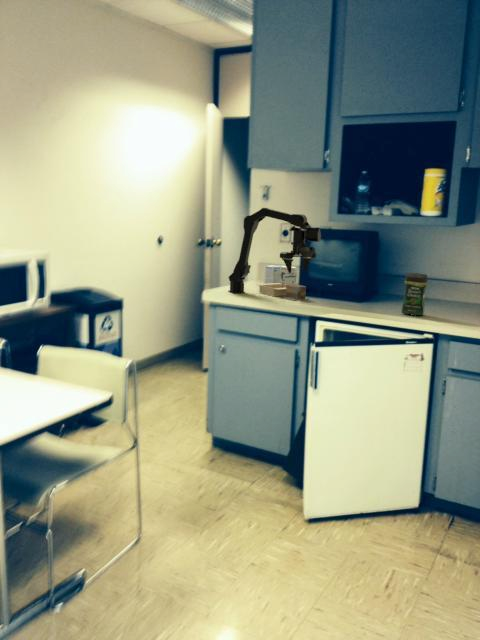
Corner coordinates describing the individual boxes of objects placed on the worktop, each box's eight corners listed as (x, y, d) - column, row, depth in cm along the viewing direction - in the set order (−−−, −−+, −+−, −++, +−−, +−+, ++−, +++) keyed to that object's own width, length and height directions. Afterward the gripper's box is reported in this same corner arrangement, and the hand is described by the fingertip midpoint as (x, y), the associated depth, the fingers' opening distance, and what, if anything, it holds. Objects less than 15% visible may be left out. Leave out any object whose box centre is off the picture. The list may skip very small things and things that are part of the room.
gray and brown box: (297, 299, 303) (297, 287, 301) (285, 296, 310) (286, 284, 309) (305, 298, 305) (305, 286, 304) (293, 296, 313) (294, 284, 311)
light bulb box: (276, 283, 359) (277, 264, 357) (285, 284, 355) (286, 265, 353) (263, 284, 352) (264, 265, 350) (272, 286, 347) (273, 266, 345)
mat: (293, 300, 301) (293, 299, 301) (281, 297, 308) (282, 296, 308) (309, 299, 307) (309, 298, 307) (297, 296, 314) (297, 295, 314)
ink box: (278, 287, 341) (279, 266, 339) (280, 286, 346) (282, 265, 343) (294, 289, 339) (295, 267, 336) (296, 287, 343) (297, 266, 341)
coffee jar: (399, 314, 276) (403, 273, 272) (403, 312, 283) (407, 271, 279) (421, 317, 271) (426, 275, 268) (425, 314, 278) (429, 273, 275)
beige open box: (277, 297, 309) (277, 289, 308) (255, 291, 324) (256, 284, 323) (300, 295, 317) (300, 287, 317) (278, 290, 332) (279, 282, 331)
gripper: (294, 242, 290) (292, 275, 293) (324, 241, 301) (322, 273, 304) (279, 240, 299) (278, 272, 302) (309, 239, 310) (307, 271, 313)
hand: (297, 272), depth 305 cm, fingers open, 9 cm apart
